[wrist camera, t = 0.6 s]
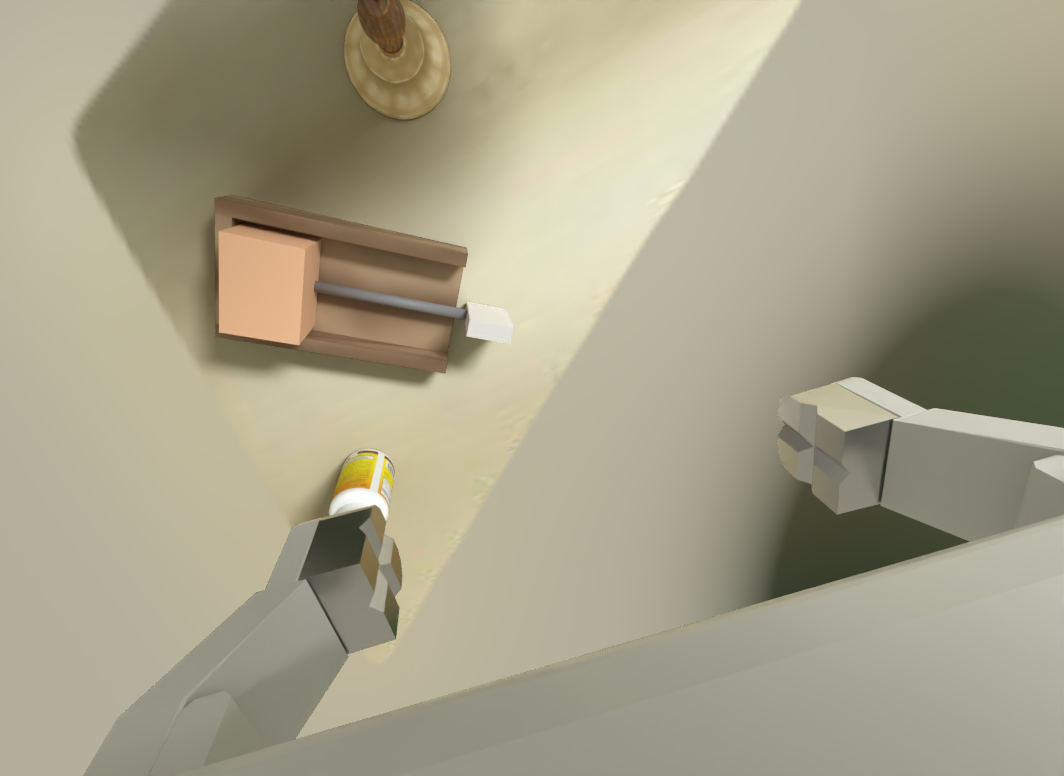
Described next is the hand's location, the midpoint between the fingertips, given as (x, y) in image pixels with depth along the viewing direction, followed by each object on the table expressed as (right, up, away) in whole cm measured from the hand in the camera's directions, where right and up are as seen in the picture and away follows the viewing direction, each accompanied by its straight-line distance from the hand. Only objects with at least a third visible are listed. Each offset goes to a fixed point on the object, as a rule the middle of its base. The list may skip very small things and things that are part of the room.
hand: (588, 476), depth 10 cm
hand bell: (-12, +28, +30) cm, 43 cm away
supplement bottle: (-19, -7, +45) cm, 49 cm away
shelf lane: (-18, +11, +36) cm, 42 cm away
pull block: (-15, +11, +37) cm, 41 cm away
